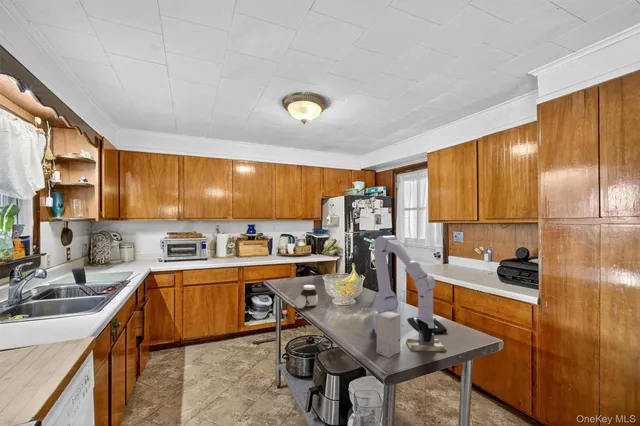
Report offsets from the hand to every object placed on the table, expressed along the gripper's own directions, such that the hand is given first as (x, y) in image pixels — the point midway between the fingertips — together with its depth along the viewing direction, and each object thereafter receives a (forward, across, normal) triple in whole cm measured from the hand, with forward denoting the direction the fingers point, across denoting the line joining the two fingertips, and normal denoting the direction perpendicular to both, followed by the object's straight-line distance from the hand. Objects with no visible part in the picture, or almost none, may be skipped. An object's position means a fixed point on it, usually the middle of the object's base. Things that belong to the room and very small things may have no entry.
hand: (425, 339), depth 118 cm
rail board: (+3, 0, 0) cm, 3 cm away
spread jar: (+3, +49, +53) cm, 73 cm away
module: (+2, 0, 0) cm, 2 cm away
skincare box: (+3, -6, +16) cm, 17 cm away
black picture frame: (+3, +23, -7) cm, 24 cm away
